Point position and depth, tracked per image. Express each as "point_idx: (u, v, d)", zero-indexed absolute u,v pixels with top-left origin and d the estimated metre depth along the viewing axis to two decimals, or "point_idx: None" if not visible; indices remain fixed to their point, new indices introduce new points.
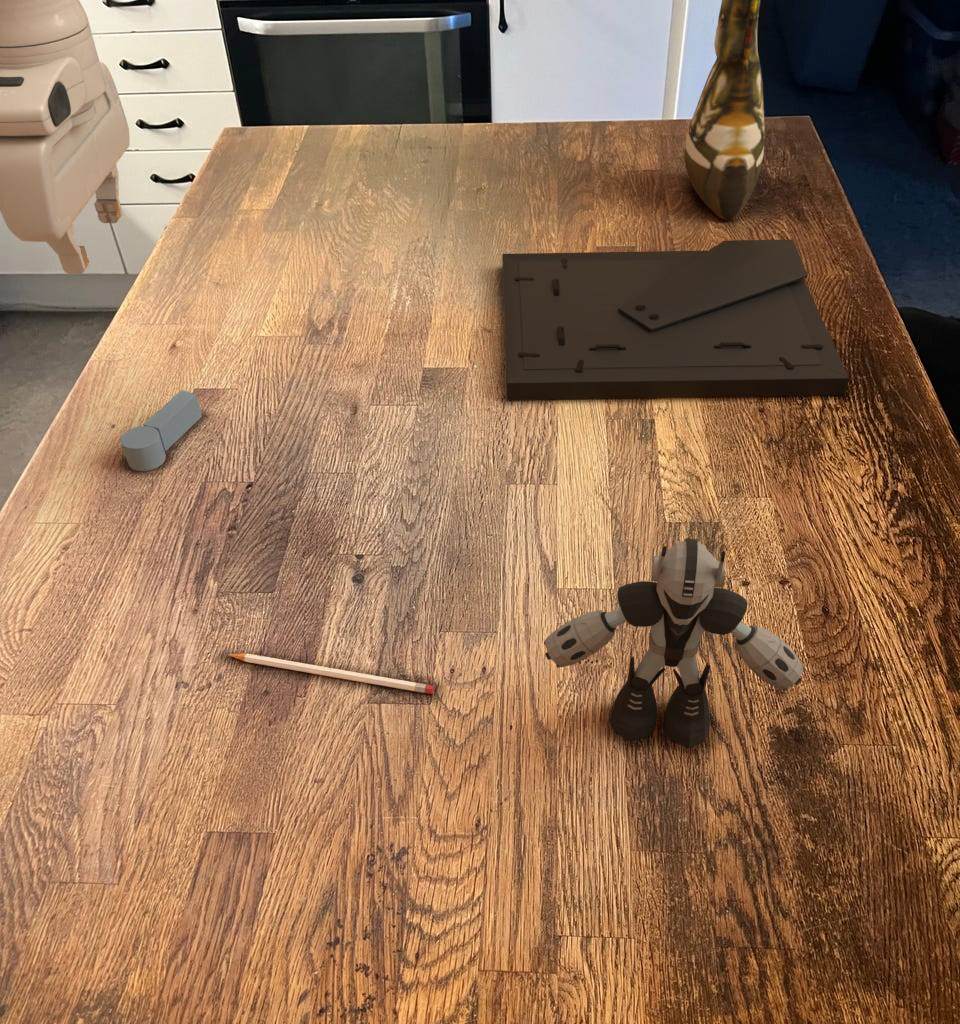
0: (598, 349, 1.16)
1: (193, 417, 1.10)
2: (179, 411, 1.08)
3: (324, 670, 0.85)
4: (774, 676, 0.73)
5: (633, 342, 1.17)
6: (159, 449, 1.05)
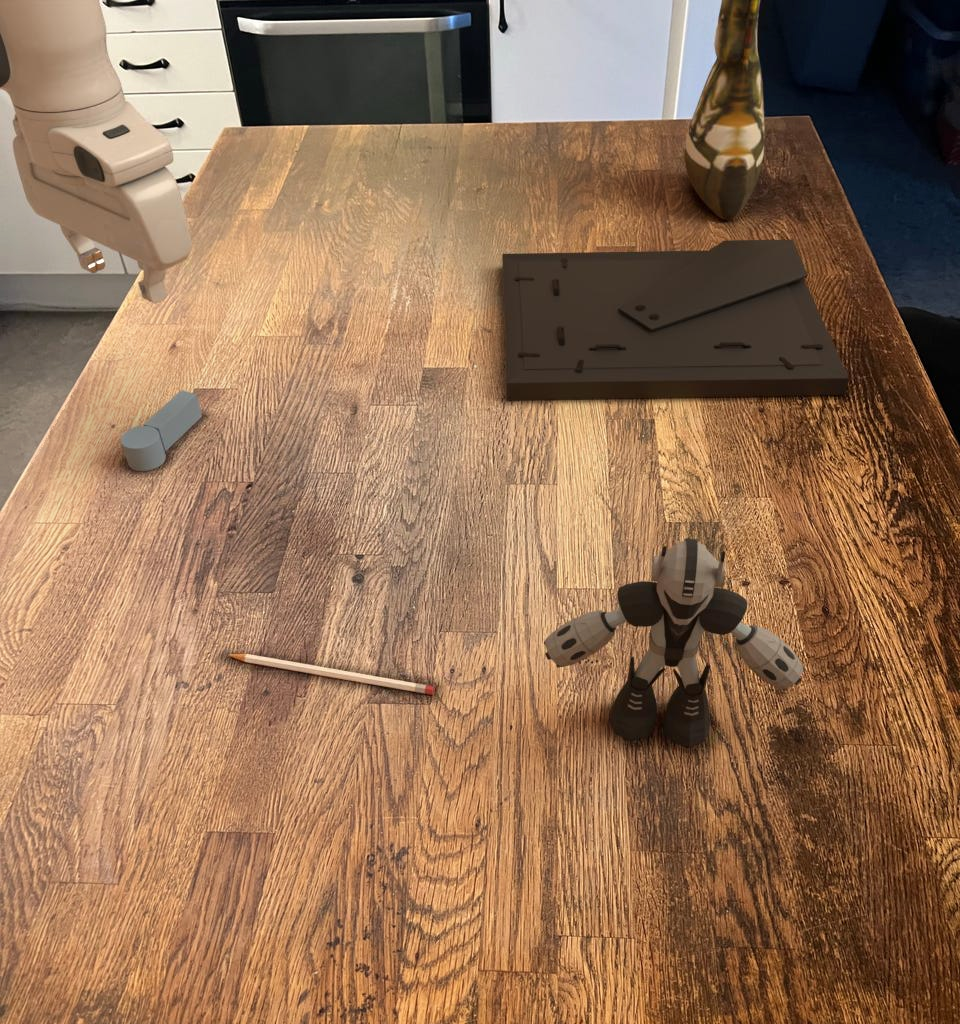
0: (598, 349, 1.16)
1: (193, 417, 1.10)
2: (179, 411, 1.08)
3: (324, 671, 0.85)
4: (774, 676, 0.73)
5: (633, 342, 1.17)
6: (159, 449, 1.05)
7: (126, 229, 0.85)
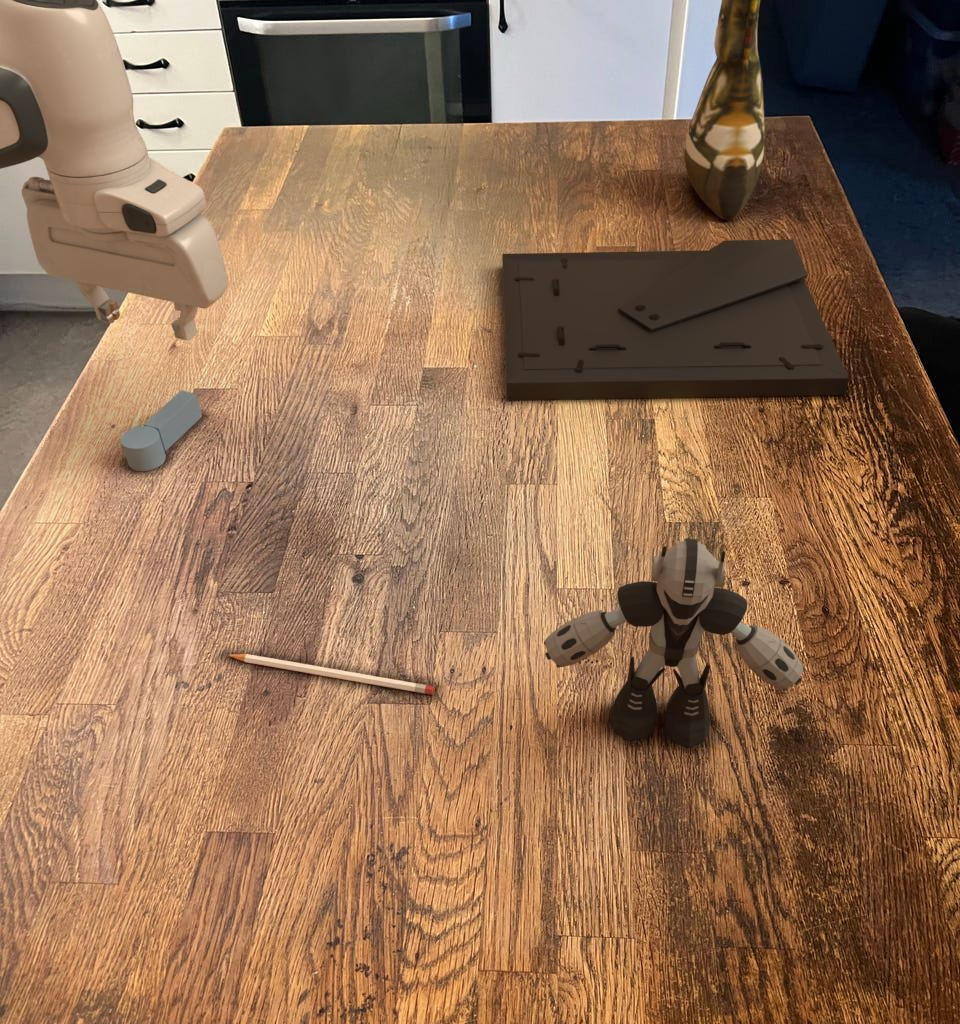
0: (598, 349, 1.16)
1: (193, 417, 1.10)
2: (179, 411, 1.08)
3: (324, 671, 0.85)
4: (774, 676, 0.73)
5: (633, 342, 1.17)
6: (159, 449, 1.05)
7: (168, 274, 0.92)
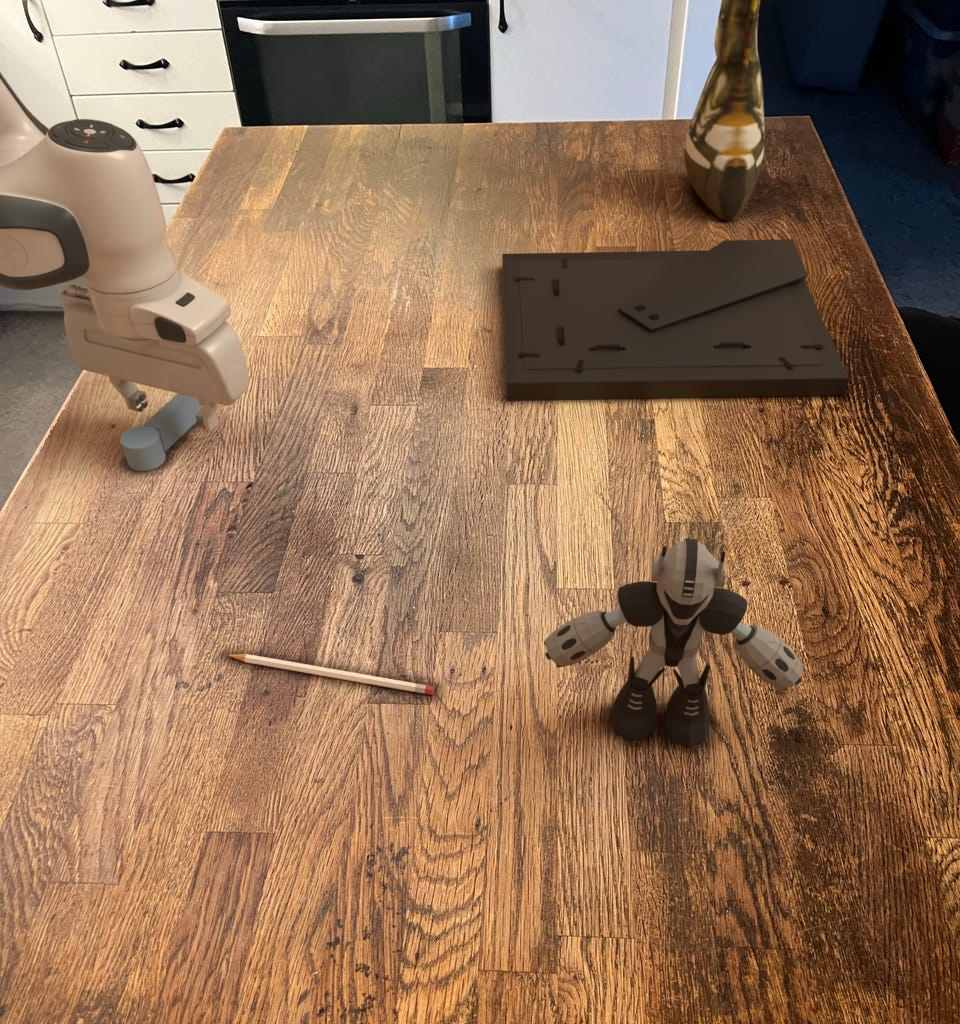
0: (598, 349, 1.16)
1: (193, 417, 1.10)
2: (179, 411, 1.08)
3: (324, 671, 0.85)
4: (774, 676, 0.73)
5: (633, 342, 1.17)
6: (159, 449, 1.05)
7: (195, 376, 1.00)
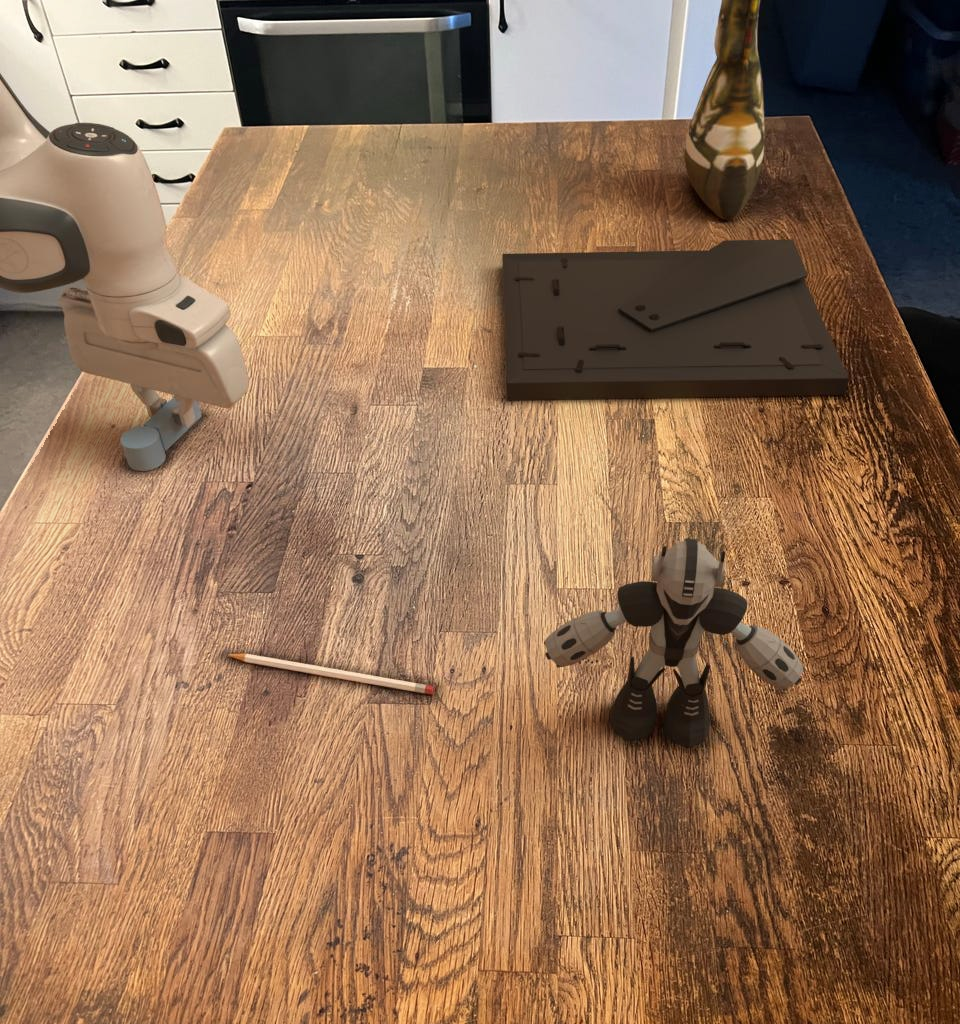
0: (598, 349, 1.16)
1: None
2: None
3: (324, 671, 0.85)
4: (774, 676, 0.73)
5: (633, 342, 1.17)
6: (159, 448, 1.05)
7: (195, 378, 1.00)
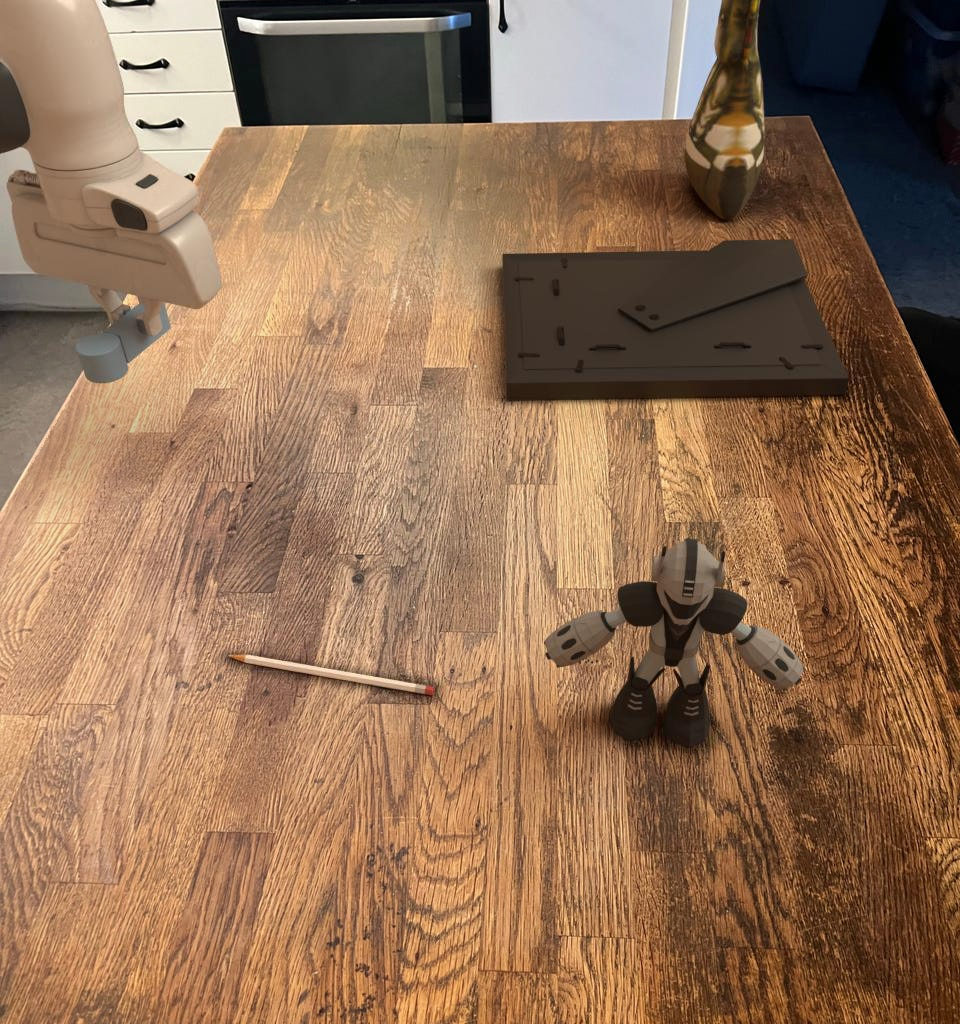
0: (598, 349, 1.16)
1: None
2: None
3: (324, 671, 0.85)
4: (774, 676, 0.73)
5: (633, 342, 1.17)
6: (120, 358, 0.93)
7: (160, 273, 0.88)
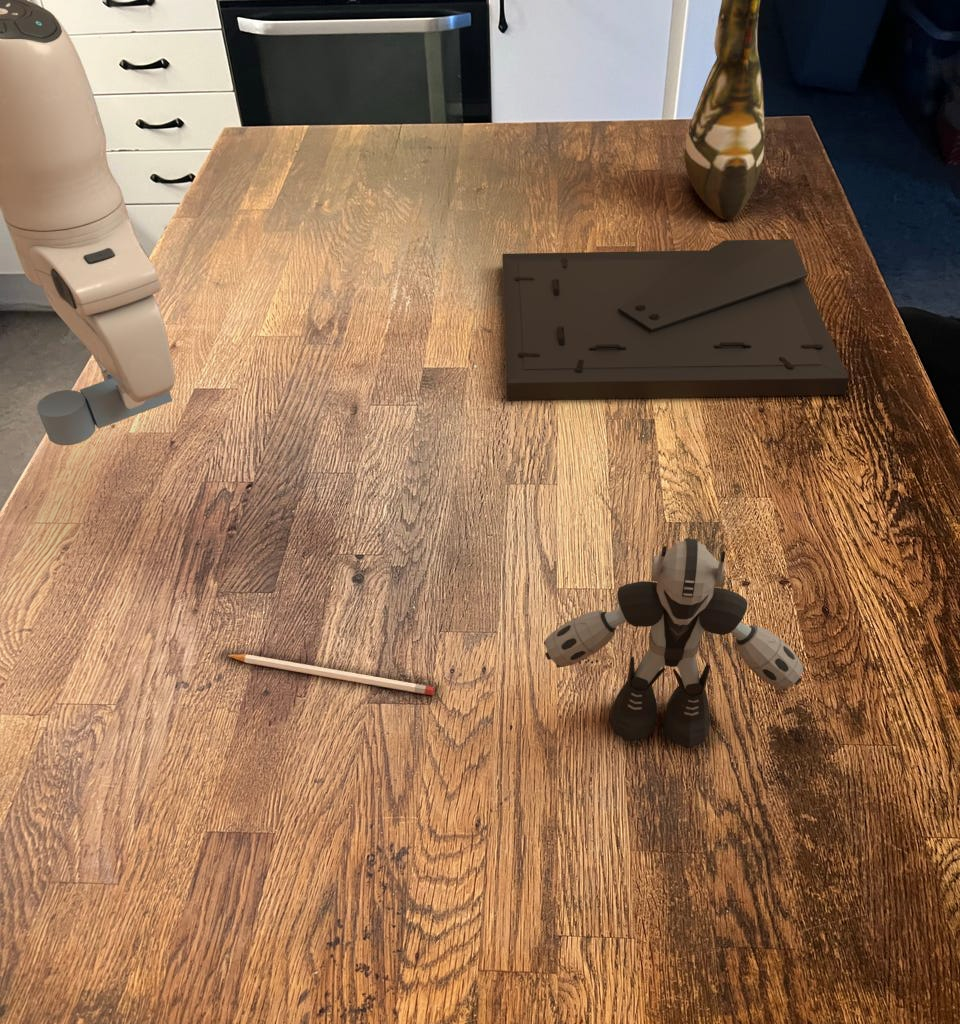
0: (598, 349, 1.16)
1: (156, 399, 0.89)
2: None
3: (324, 671, 0.85)
4: (774, 676, 0.73)
5: (633, 342, 1.17)
6: (76, 424, 0.84)
7: (107, 354, 0.78)
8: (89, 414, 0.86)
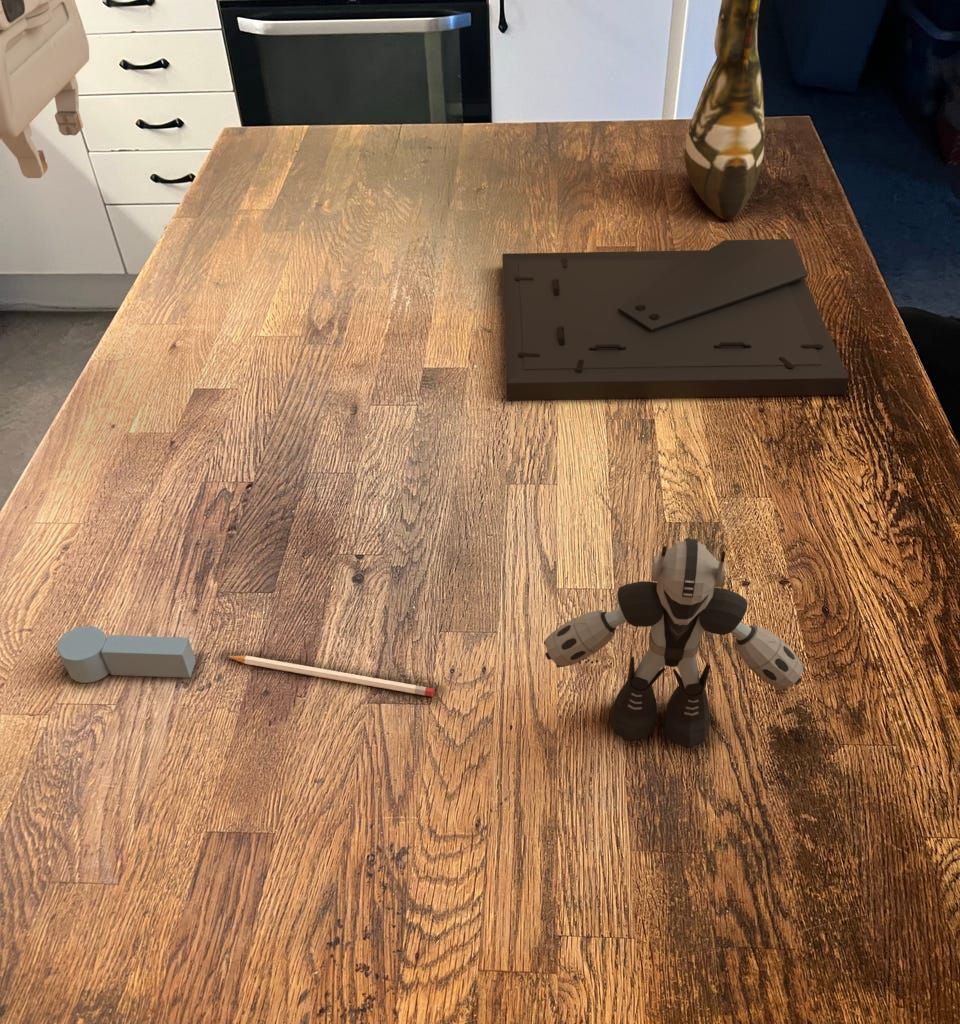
0: (598, 349, 1.16)
1: (172, 671, 0.85)
2: (143, 654, 0.84)
3: (324, 673, 0.85)
4: (774, 676, 0.73)
5: (633, 342, 1.17)
6: (80, 669, 0.84)
7: None
8: (101, 662, 0.85)
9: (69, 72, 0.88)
